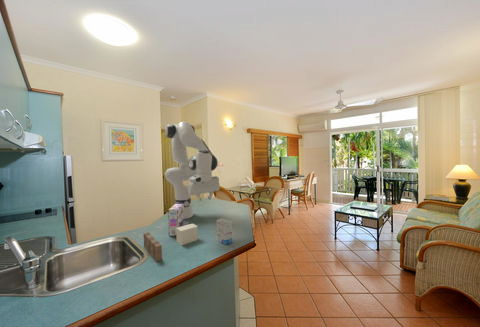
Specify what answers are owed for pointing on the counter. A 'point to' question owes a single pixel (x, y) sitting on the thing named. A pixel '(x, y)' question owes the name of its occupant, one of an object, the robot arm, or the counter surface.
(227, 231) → the ink box
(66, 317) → the counter surface
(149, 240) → the walnut board
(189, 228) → the cream block
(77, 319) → the counter surface
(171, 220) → the candy box
